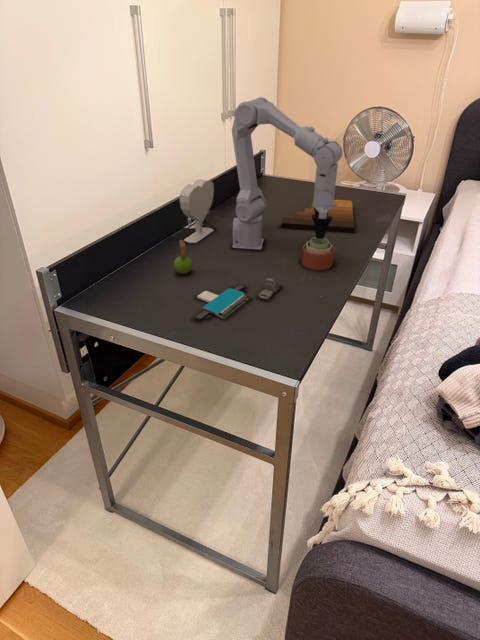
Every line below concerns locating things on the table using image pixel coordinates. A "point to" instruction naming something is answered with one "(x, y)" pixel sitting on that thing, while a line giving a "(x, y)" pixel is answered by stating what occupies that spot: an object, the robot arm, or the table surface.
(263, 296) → the strap clip
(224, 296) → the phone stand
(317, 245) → the sage cup
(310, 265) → the stack base cup
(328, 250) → the stack top cup
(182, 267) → the green candy apple
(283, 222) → the pan flute
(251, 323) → the table surface
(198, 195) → the heart sculpture
